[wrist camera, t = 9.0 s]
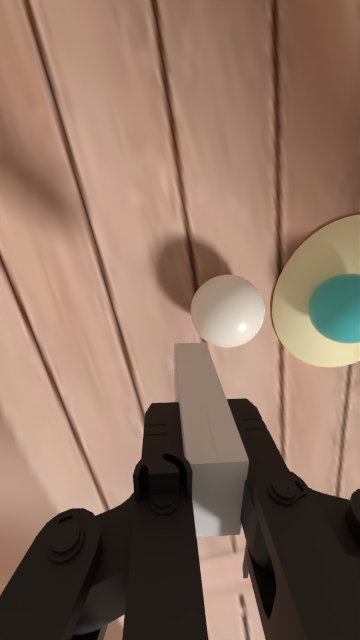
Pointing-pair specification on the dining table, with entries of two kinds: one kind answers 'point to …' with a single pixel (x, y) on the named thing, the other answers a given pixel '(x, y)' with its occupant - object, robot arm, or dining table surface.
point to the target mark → (302, 280)
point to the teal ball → (337, 308)
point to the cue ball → (227, 311)
